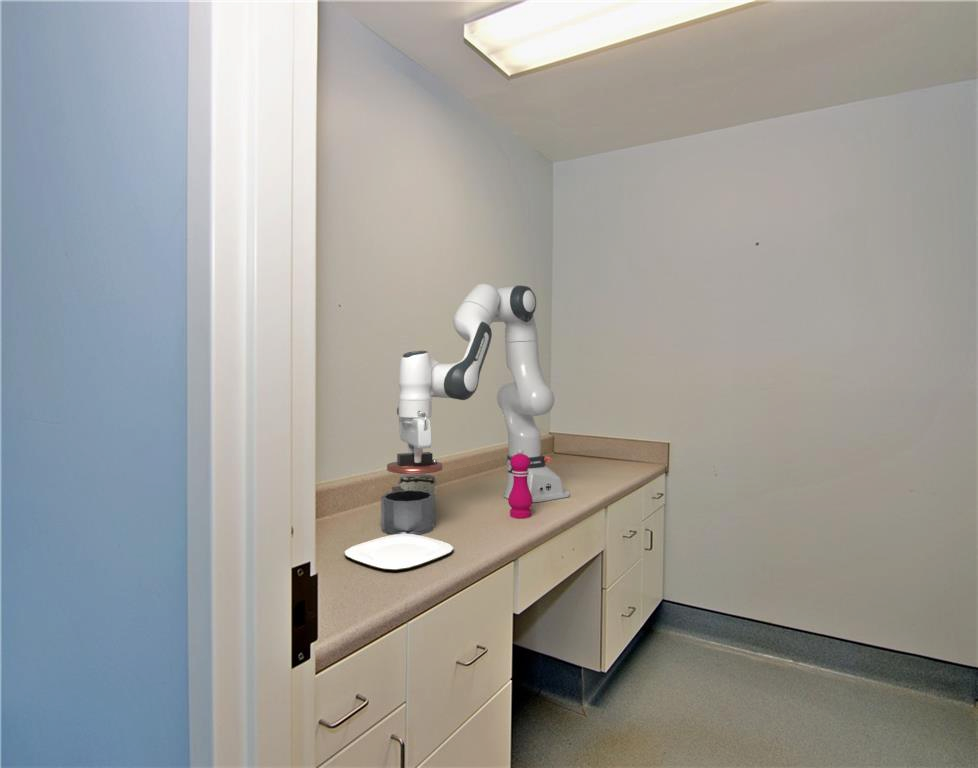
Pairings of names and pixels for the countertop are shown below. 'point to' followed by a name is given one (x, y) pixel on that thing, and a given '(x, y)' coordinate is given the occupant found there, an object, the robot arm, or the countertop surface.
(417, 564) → the plate
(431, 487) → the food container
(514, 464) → the pepper mill
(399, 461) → the lid
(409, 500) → the pot
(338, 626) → the countertop surface
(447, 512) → the countertop surface
